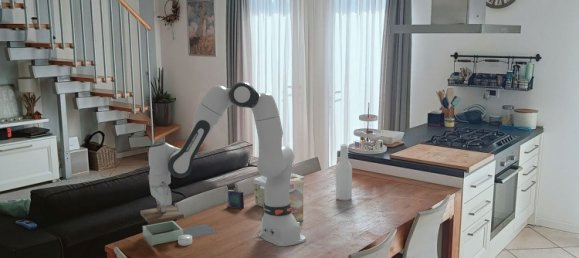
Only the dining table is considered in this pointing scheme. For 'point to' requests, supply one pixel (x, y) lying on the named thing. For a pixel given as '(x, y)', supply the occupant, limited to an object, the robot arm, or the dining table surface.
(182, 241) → the white rounded piece
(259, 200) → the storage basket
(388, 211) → the dining table surface
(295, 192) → the coffeecake box
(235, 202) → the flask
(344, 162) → the alcohol
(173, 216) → the lid
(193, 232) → the trivet
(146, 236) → the dish
